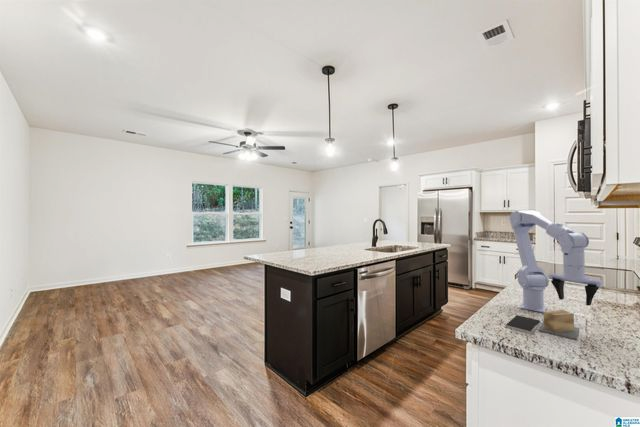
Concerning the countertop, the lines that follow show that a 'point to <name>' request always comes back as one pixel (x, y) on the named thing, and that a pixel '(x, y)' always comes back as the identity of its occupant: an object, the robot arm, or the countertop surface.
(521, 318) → the smartphone
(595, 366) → the countertop surface
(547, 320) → the oak slab
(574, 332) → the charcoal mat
